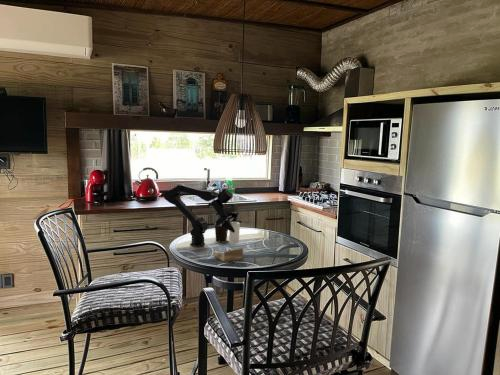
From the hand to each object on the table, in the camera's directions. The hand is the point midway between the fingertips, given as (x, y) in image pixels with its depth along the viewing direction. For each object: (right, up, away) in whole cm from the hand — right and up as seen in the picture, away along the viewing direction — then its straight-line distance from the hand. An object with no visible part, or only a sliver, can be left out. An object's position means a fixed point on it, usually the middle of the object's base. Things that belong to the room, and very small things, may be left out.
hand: (236, 231), depth 212 cm
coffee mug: (-11, -8, +22) cm, 26 cm away
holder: (-4, -13, -10) cm, 17 cm away
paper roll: (-2, -6, +1) cm, 7 cm away
